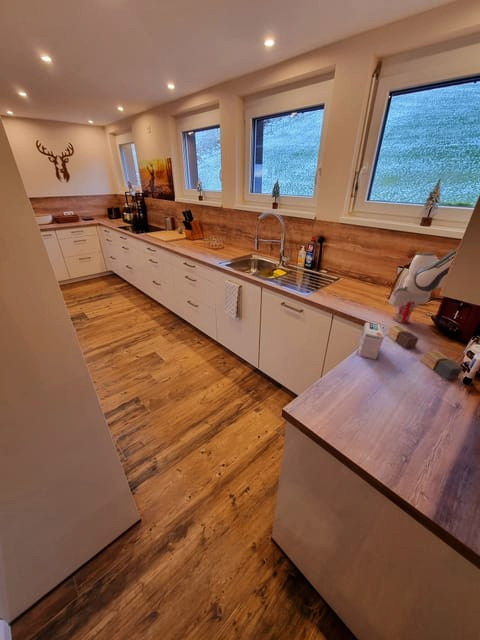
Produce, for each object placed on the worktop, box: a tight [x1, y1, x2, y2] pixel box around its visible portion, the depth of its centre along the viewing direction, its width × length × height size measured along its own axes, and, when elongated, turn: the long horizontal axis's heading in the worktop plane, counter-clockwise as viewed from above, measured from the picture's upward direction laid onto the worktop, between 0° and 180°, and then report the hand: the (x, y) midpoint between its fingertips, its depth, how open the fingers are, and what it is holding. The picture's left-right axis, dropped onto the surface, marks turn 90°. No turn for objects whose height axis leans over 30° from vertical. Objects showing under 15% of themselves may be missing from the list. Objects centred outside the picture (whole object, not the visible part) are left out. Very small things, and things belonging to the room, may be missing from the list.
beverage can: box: [394, 302, 415, 324], centre depth 133 cm, size 6×6×12 cm
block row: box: [387, 325, 464, 381], centre depth 108 cm, size 5×31×5 cm, turn 13°
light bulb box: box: [358, 321, 385, 360], centre depth 108 cm, size 11×7×11 cm, turn 157°
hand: (404, 312), depth 133 cm, fingers closed on beverage can, 6 cm apart
